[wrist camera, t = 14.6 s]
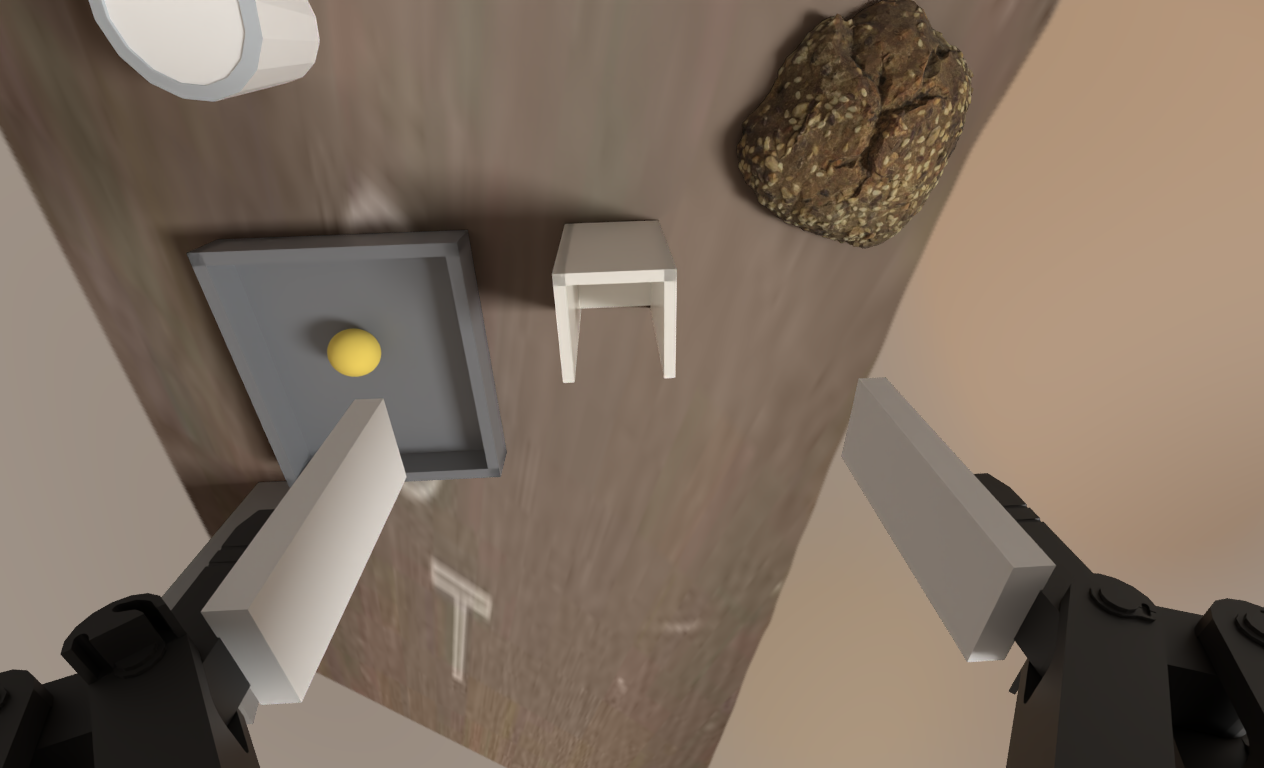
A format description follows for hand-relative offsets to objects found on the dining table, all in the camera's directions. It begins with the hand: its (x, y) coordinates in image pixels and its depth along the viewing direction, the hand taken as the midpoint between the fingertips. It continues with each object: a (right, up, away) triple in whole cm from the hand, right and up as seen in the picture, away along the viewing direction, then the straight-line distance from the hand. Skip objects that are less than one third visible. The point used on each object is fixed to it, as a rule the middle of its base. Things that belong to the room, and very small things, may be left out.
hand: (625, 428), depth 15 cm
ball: (-18, +3, +21) cm, 28 cm away
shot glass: (-19, +21, +14) cm, 31 cm away
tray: (-18, +3, +23) cm, 30 cm away
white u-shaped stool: (-1, +9, +21) cm, 23 cm away
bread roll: (+14, +17, +18) cm, 28 cm away
